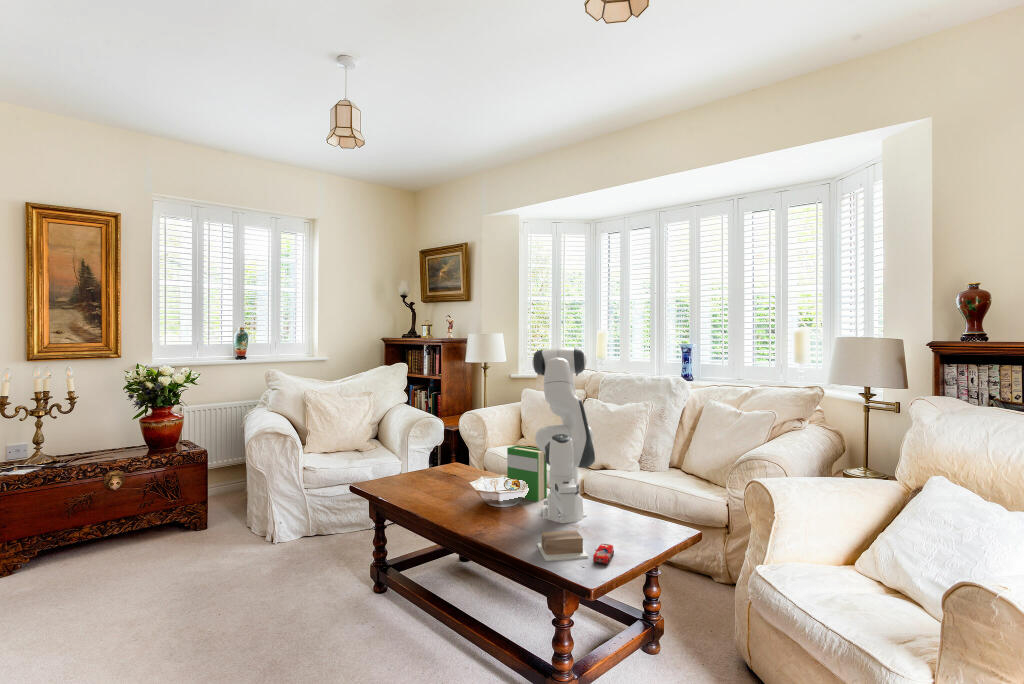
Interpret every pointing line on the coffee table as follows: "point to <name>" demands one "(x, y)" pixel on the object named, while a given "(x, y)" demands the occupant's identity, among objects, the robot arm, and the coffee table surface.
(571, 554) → the board
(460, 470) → the coffee table surface
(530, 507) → the coffee table surface
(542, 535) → the walnut block
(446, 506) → the coffee table surface
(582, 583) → the coffee table surface
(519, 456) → the hardback book
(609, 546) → the race car
